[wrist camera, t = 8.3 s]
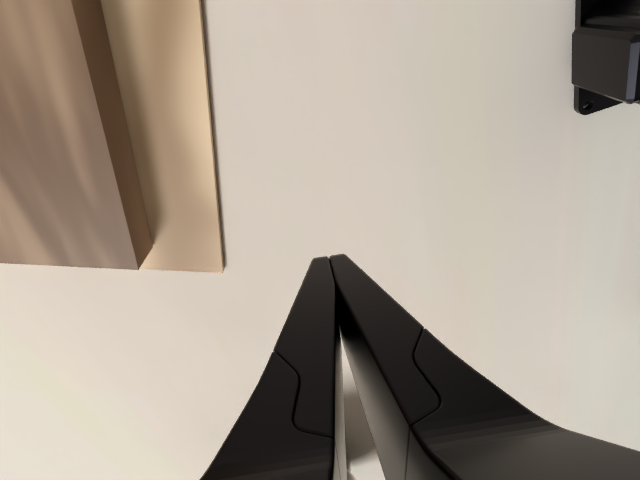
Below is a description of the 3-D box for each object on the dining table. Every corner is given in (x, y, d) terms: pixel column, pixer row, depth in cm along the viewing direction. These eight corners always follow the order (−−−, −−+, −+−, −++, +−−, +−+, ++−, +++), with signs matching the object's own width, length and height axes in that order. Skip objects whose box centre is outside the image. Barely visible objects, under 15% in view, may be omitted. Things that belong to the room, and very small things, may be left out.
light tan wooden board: (198, -30, 16) (195, -31, 16) (223, 269, 26) (222, 272, 25) (-240, -72, 15) (-252, -74, 15) (-46, 255, 25) (-51, 259, 24)
